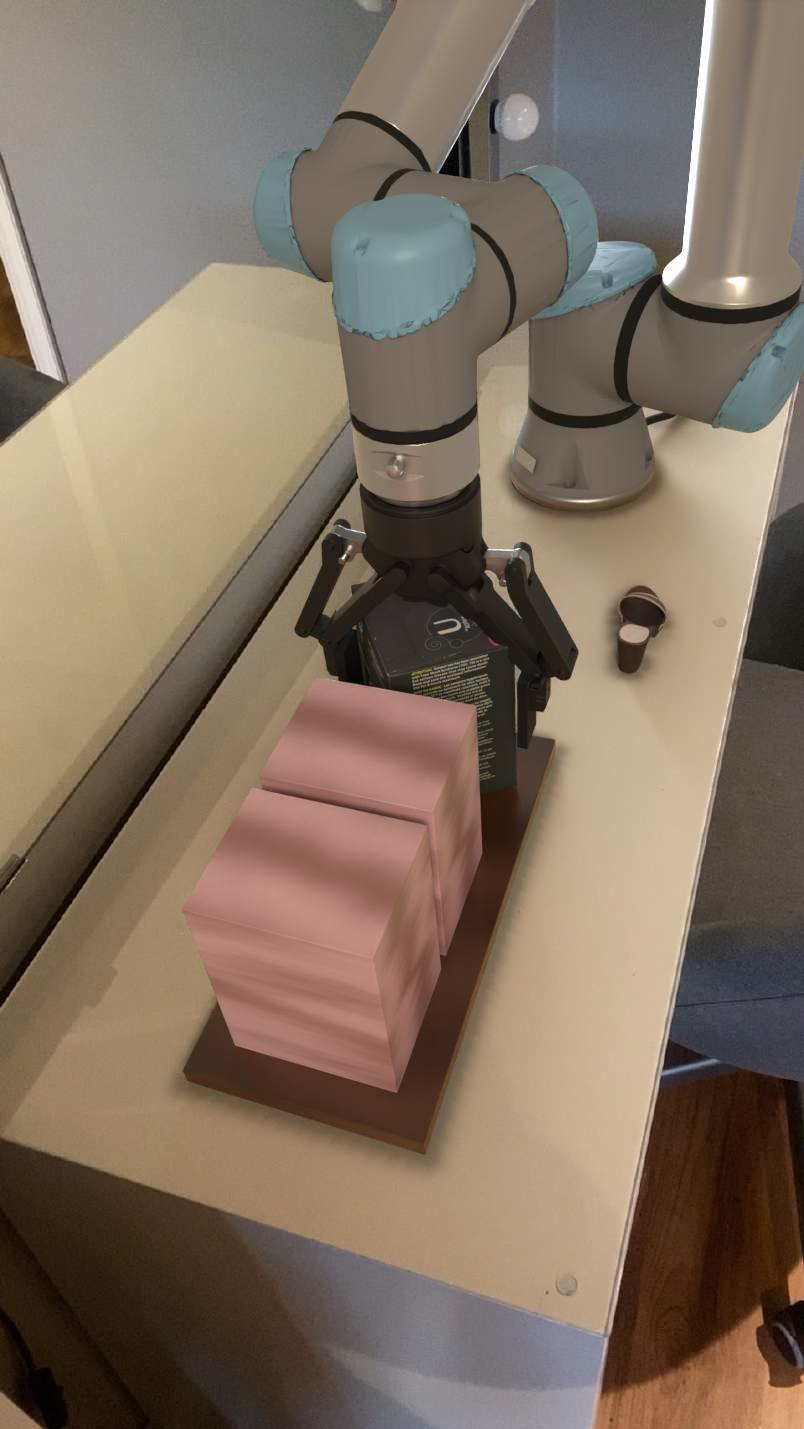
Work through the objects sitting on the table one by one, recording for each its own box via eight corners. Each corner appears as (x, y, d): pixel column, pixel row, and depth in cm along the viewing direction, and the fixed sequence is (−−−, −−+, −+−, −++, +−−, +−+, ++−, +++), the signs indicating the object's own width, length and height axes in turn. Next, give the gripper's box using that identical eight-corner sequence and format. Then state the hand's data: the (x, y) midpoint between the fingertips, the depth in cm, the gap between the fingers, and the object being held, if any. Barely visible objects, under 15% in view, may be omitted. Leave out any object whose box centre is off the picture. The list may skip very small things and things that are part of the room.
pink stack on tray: (370, 717, 89) (347, 559, 78) (555, 752, 85) (560, 590, 73) (187, 1081, 67) (117, 936, 55) (425, 1155, 62) (403, 1013, 51)
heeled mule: (671, 603, 97) (676, 569, 94) (654, 682, 89) (658, 648, 87) (623, 596, 98) (626, 563, 95) (602, 674, 91) (604, 640, 88)
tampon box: (520, 788, 80) (520, 643, 70) (404, 819, 79) (387, 676, 69) (474, 695, 88) (467, 552, 78) (367, 722, 87) (347, 581, 76)
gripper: (210, 486, 65) (269, 724, 80) (610, 536, 58) (593, 787, 73) (260, 425, 70) (306, 660, 85) (634, 464, 63) (613, 713, 78)
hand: (439, 719), depth 79 cm, fingers open, 13 cm apart
